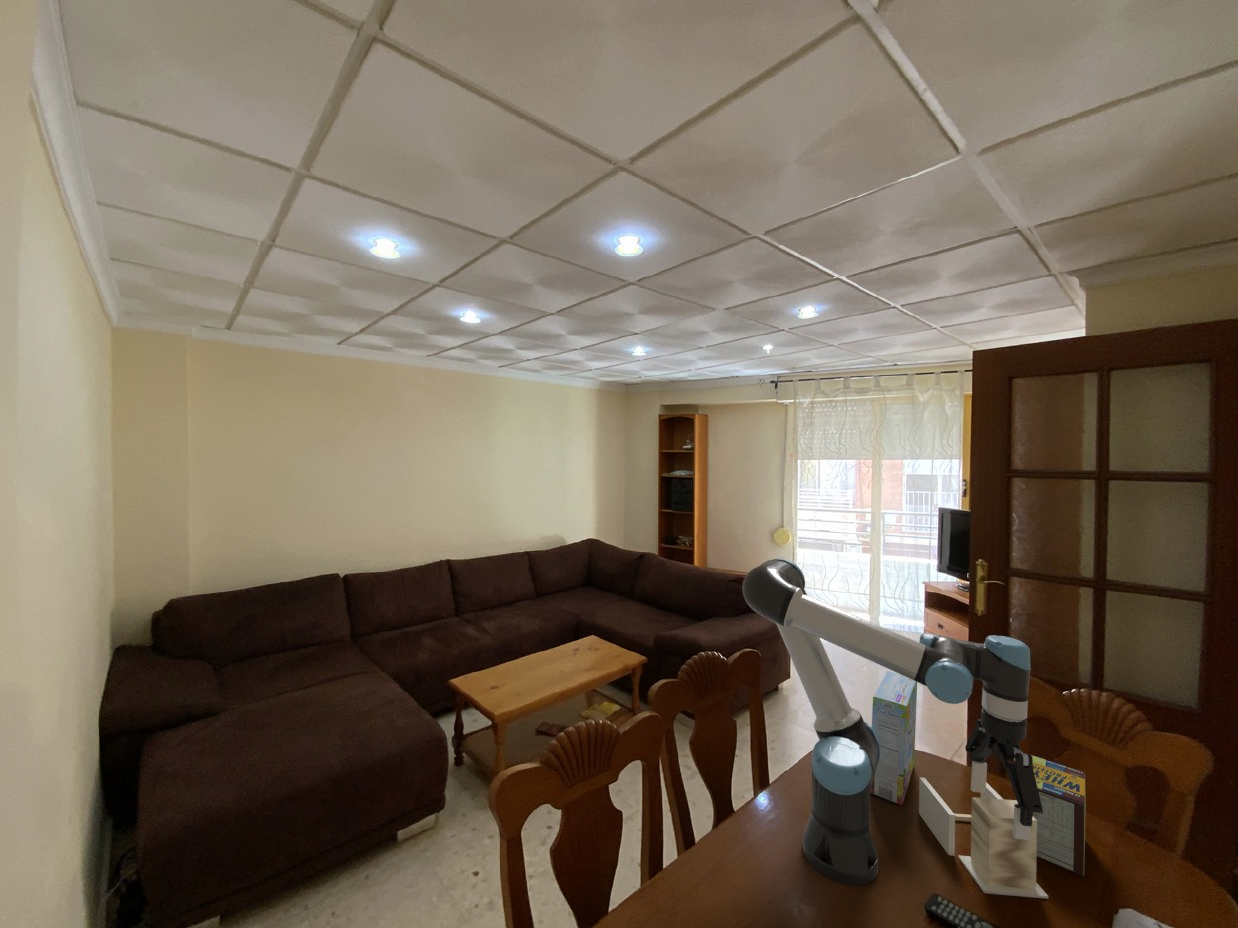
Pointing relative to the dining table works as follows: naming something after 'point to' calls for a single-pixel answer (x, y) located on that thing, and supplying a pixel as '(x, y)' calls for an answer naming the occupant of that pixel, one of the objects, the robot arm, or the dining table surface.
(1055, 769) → the protein box
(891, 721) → the snack box
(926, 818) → the shelf bay
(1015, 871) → the block
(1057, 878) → the dining table surface
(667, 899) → the dining table surface
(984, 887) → the felt mat
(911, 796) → the dining table surface
